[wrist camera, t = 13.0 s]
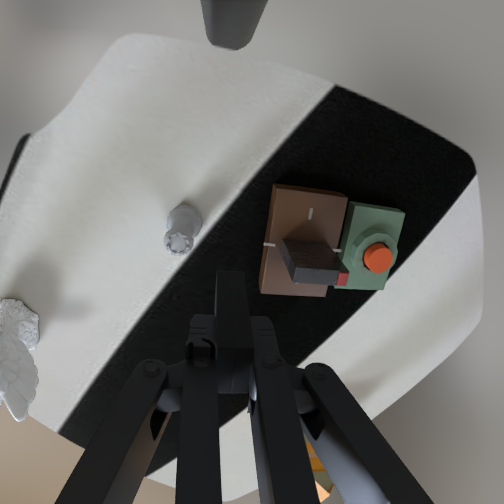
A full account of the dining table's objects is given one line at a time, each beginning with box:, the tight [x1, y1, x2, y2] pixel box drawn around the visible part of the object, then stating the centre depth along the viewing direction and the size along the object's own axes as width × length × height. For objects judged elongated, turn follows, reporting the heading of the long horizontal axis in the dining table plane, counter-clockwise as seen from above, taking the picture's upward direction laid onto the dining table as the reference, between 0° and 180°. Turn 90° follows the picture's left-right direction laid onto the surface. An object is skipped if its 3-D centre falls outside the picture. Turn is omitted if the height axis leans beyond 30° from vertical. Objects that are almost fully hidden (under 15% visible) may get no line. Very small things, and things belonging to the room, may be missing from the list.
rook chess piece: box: [164, 205, 202, 256], centre depth 37 cm, size 4×4×8 cm
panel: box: [258, 183, 348, 297], centre depth 42 cm, size 14×10×3 cm
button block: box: [334, 201, 405, 290], centre depth 43 cm, size 12×8×4 cm, turn 173°
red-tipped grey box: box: [280, 239, 350, 286], centre depth 37 cm, size 6×2×8 cm, turn 82°
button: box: [363, 243, 393, 273], centre depth 40 cm, size 4×4×2 cm
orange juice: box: [303, 432, 334, 503], centre depth 50 cm, size 8×9×20 cm
